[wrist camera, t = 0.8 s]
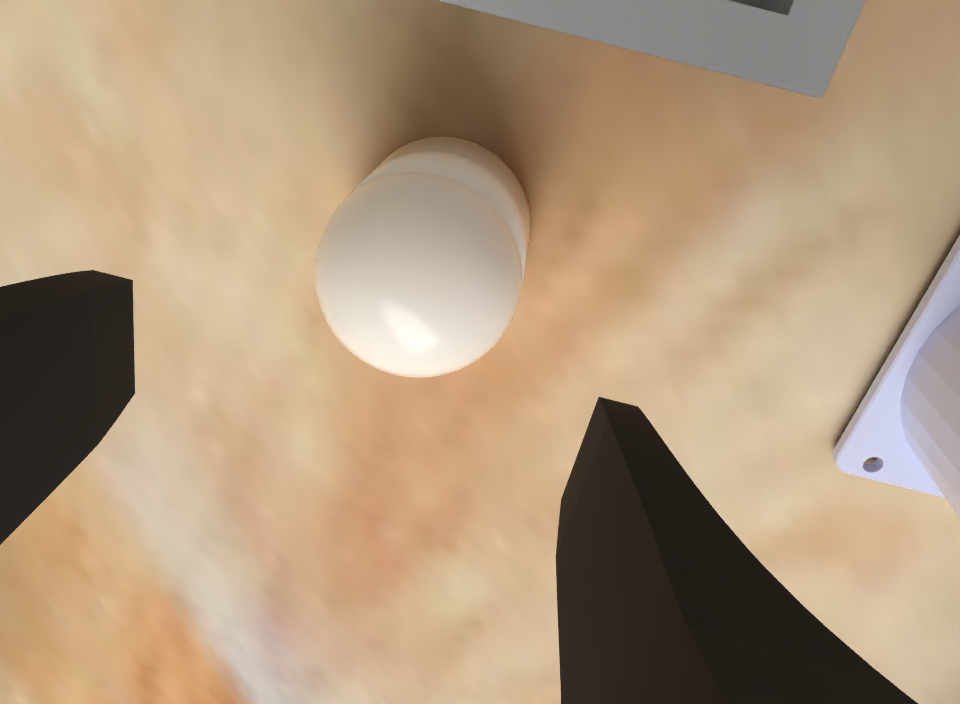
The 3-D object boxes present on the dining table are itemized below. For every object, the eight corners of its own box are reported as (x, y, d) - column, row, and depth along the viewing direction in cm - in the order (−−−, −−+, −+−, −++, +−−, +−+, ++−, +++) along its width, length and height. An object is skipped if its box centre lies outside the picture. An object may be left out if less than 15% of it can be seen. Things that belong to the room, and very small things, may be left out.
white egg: (550, 160, 17) (542, 238, 12) (507, 318, 19) (485, 440, 14) (375, 116, 17) (294, 175, 12) (352, 278, 19) (274, 386, 14)
